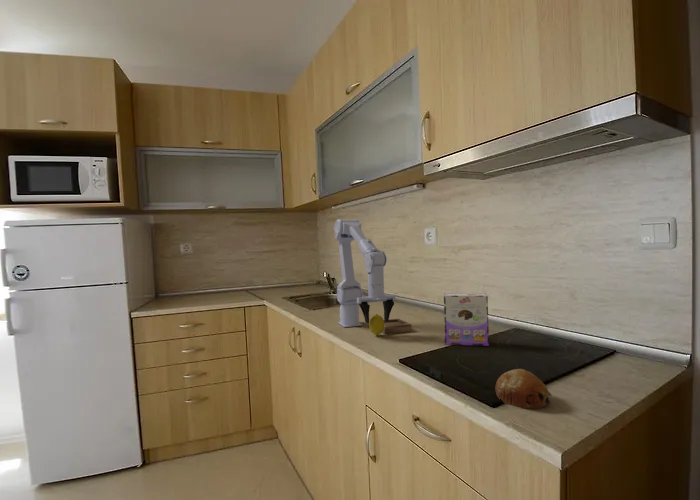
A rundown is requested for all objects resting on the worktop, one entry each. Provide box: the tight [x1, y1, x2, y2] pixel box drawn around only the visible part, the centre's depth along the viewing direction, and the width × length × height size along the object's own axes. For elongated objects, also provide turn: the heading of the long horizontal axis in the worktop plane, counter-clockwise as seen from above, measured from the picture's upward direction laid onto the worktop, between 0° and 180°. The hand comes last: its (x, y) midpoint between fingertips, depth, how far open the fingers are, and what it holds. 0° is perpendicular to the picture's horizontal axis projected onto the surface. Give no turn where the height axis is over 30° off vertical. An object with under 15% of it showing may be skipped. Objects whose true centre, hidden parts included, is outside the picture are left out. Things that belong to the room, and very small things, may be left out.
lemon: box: [368, 313, 384, 337], centre depth 131 cm, size 6×6×8 cm
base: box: [381, 318, 413, 335], centre depth 140 cm, size 11×11×3 cm
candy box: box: [443, 292, 490, 347], centre depth 119 cm, size 14×6×16 cm, turn 74°
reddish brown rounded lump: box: [494, 368, 552, 410], centre depth 76 cm, size 10×10×8 cm
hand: (376, 321), depth 131 cm, fingers open, 7 cm apart
